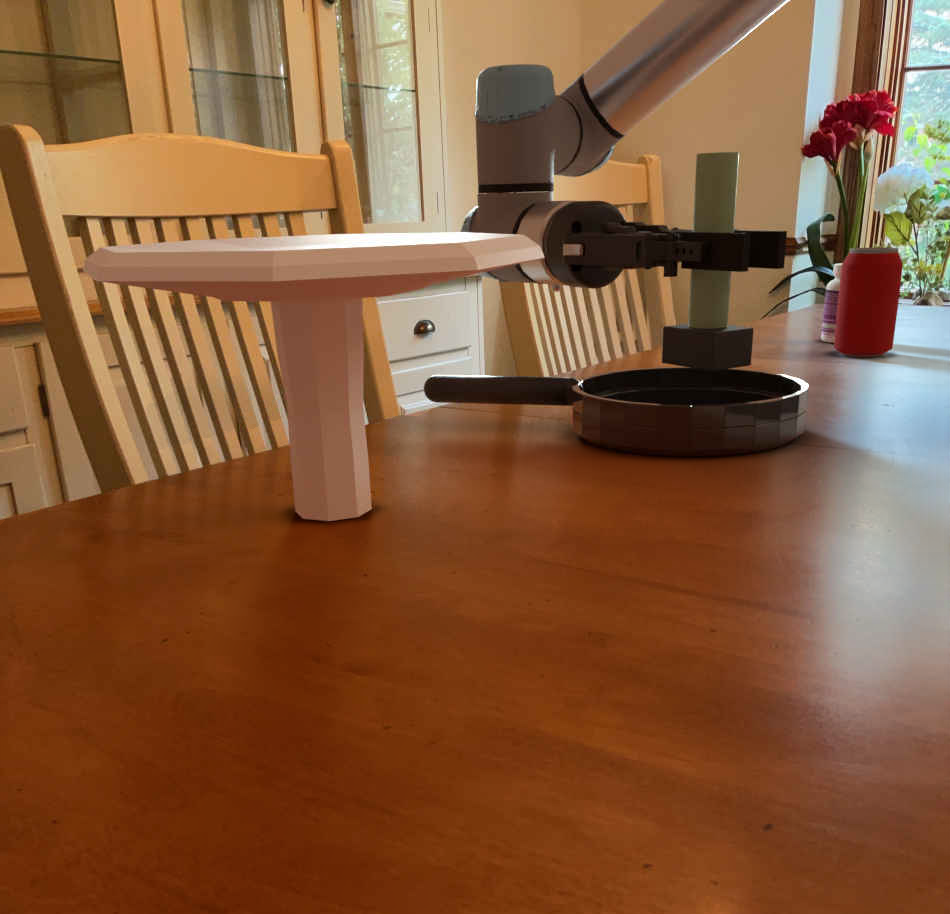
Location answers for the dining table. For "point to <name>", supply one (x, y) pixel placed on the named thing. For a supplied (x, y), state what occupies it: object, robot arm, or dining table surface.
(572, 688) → the dining table surface
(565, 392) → the pan handle
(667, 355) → the green peg on base
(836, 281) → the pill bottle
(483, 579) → the dining table surface
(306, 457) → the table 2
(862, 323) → the beverage can
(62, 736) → the dining table surface
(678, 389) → the frying pan
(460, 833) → the dining table surface
